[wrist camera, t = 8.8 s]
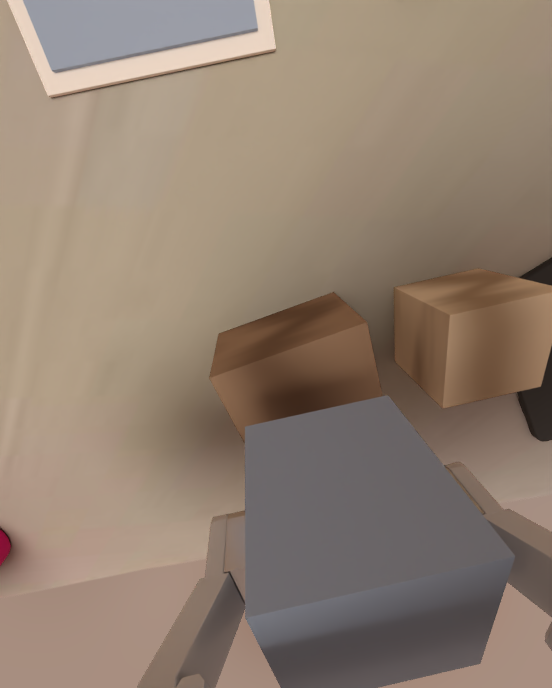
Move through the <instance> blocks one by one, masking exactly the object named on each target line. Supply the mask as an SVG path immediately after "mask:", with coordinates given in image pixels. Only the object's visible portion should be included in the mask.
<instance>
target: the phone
mask: <svg viewBox="0 0 552 688" xmlns="http://www.w3.org/2000/svg"><path fill="white" fill-rule="evenodd" d="M519 278H521V279H525V280H530V281H534V282H538V283H542V284H546V285H551V286H552V258H550V259H549V260H547V261H545V262H544V263H542V264H541V265H539V266H537V267H536V268H534V269H532V270H531V271H529V272H528V273H526V274H524V275H523V276H521V277H519ZM517 394H518V397H519V402H520V405H521V408H522V411H523V413H524V415H525V417H526V420H527V423H528V426H529V429H530V432H531V434H532V435H533V436H534V437H535V438H537V439H538V440H540V441H549V440H552V346H551V350H550V354H549V357H548V361H547V365H546V369H545V373H544V376H543V380H542V384H541V387H537V388H532V389H528V390H523V391H519V392H517Z"/></svg>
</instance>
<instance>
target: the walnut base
mask: <svg viewBox="0 0 552 688" xmlns="http://www.w3.org/2000/svg"><path fill="white" fill-rule="evenodd" d="M209 379H210V380H211V382H212V384H213V386H214V388H215V390H216V392H217V393H218V395H219V397H220V399H221V401H222V403H223V404H224V406H225V408H226V410H227V412H228V414H229V416H230V417H231V419H232V421H233V423H234V425H235V427H236V428H237V430H238V432H239V434H240V436H241V438H242V440H243V441H244V443H245V427H246V426H250V425H255V424H259V423H264V422H268V421H273V420H277V419H282V418H286V417H291V416H295V415H300V414H304V413H309V412H313V411H318V410H322V409H327V408H331V407H336V406H341V405H345V404H350V403H354V402H359V401H363V400H368V399H372V398H377V397H381V396H382V391H381V386H380V381H379V377H378V372H377V367H376V362H375V358H374V353H373V348H372V343H371V339H370V334H369V329H368V324H367V322H366V321H365V320H364V319H363V318H362V317H361V316H360V315H359V314H357V313H356V312H355V311H354V310H353V309H352V308H351V307H350V306H348V305H347V304H346V303H345V302H344V301H343V300H342V299H341V298H340V297H338V296H337V295H336V294H335V293H334V292H332V293H330V294H327V295H324V296H321V297H319V298H316V299H313V300H310V301H308V302H305V303H302V304H299V305H297V306H294V307H291V308H288V309H286V310H283V311H280V312H277V313H275V314H272V315H269V316H266V317H263V318H261V319H258V320H255V321H252V322H250V323H247V324H244V325H241V326H239V327H236V328H233V329H230V330H228V331H225V332H222V333H219V335H218V340H217V344H216V349H215V354H214V358H213V363H212V368H211V372H210V377H209Z"/></svg>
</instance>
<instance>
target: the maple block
mask: <svg viewBox="0 0 552 688" xmlns="http://www.w3.org/2000/svg"><path fill="white" fill-rule="evenodd" d="M394 335H395V362H396V363H397V364H398V365H399V366H400V367H401V368H402V369H403V370H404V371H405V372H406V373H407V374H408V375H409V376H410V377H411V378H412V379H413V380H414V381H415V382H416V383H417V384H418V385H419V386H420V387H421V388H422V389H423V390H424V391H425V392H426V393H427V394H428V395H429V396H430V397H431V398H432V399H433V400H434V401H435V402H436V403H437V404H438V405H439V406H440V407H441V408H442V409H444V408H448V407H452V406H457V405H461V404H466V403H470V402H475V401H479V400H483V399H488V398H492V397H497V396H501V395H506V394H510V393H515V392H519V391H523V390H528V389H532V388H537V387H541V384H542V380H543V376H544V373H545V369H546V365H547V361H548V357H549V354H550V350H551V346H552V286H551V285H546V284H542V283H538V282H534V281H530V280H525V279H521V278H517V277H513V276H508V275H504V274H500V273H496V272H491V271H487V270H483V269H479V268H478V269H473V270H469V271H464V272H460V273H455V274H451V275H446V276H442V277H437V278H433V279H428V280H424V281H420V282H415V283H411V284H406V285H402V286H397V287H394Z"/></svg>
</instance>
